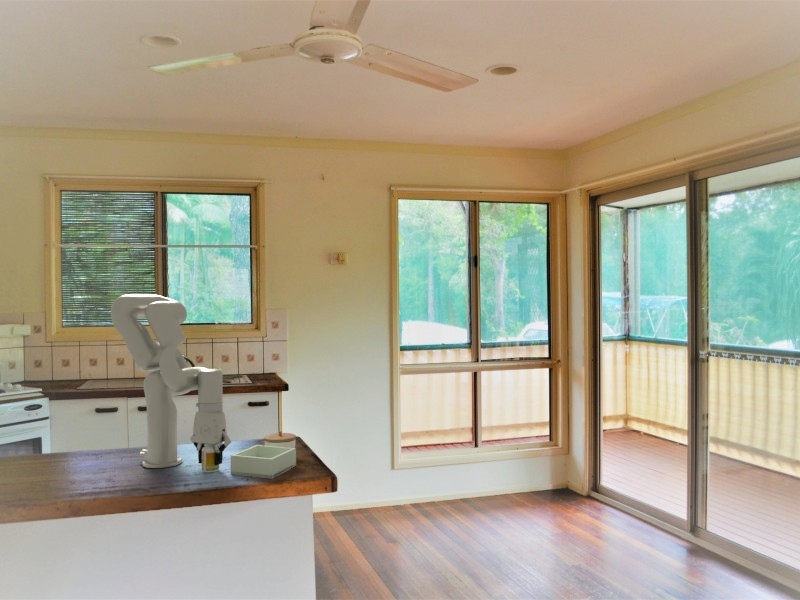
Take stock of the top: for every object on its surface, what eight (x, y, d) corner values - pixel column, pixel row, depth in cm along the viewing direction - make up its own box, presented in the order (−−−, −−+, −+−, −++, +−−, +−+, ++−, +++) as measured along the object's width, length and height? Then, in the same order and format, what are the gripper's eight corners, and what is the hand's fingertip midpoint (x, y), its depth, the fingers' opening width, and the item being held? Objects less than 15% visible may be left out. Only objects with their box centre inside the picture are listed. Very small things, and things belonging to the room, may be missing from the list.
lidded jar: (289, 453, 225) (288, 427, 225) (300, 459, 216) (300, 432, 215) (260, 457, 219) (260, 430, 219) (270, 464, 210) (270, 436, 210)
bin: (230, 474, 198) (230, 455, 198) (256, 462, 212) (256, 444, 212) (272, 478, 193) (272, 459, 193) (296, 466, 207) (296, 448, 207)
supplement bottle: (222, 469, 203) (222, 439, 203) (211, 473, 198) (211, 443, 198) (209, 467, 206) (209, 438, 205) (198, 471, 201) (198, 441, 201)
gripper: (180, 407, 201) (180, 463, 201) (226, 411, 195) (225, 469, 196) (195, 403, 208) (195, 458, 208) (239, 407, 203) (239, 462, 203)
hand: (210, 462), depth 202 cm, fingers closed on supplement bottle, 5 cm apart
